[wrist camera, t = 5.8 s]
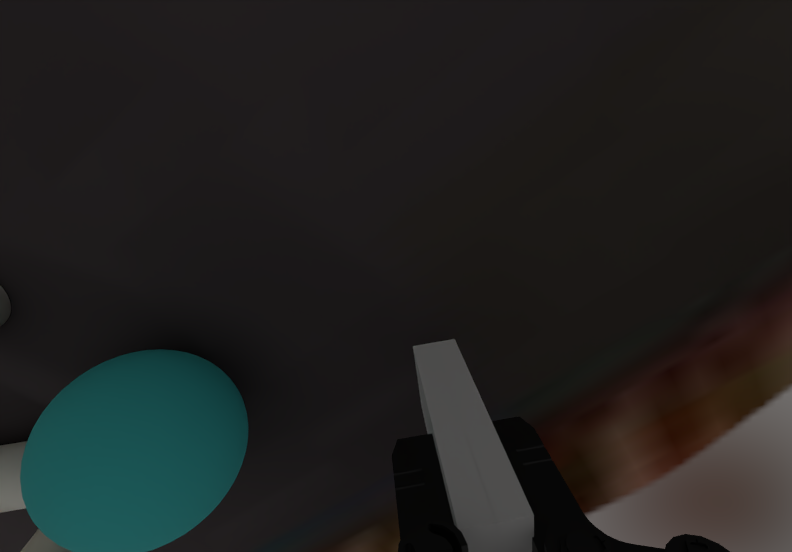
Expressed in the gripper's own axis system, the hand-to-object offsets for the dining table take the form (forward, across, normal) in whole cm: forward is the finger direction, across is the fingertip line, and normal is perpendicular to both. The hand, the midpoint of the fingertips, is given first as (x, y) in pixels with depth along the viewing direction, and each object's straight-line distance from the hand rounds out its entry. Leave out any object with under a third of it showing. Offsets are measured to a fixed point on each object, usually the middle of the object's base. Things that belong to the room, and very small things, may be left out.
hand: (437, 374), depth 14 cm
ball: (-1, +10, 0) cm, 10 cm away
